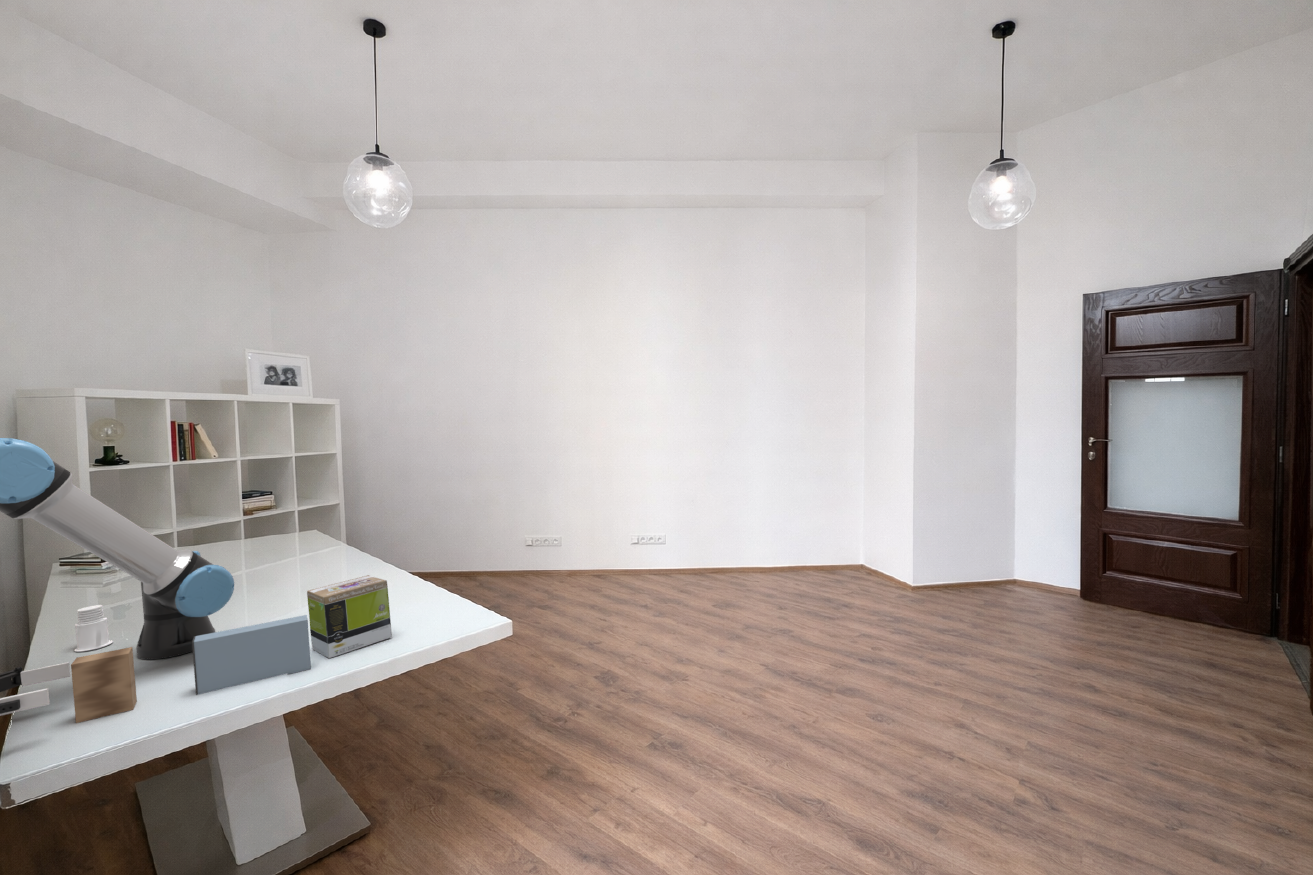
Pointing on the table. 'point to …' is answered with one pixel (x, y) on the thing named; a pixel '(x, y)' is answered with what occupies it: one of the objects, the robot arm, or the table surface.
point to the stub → (103, 684)
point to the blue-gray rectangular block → (250, 653)
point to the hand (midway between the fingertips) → (59, 681)
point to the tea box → (349, 615)
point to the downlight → (91, 629)
